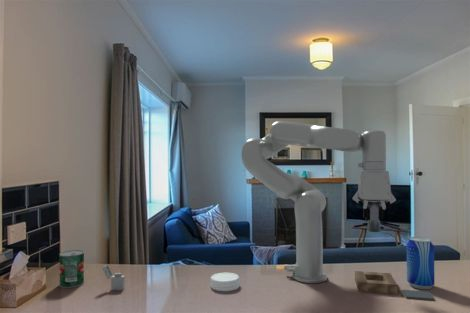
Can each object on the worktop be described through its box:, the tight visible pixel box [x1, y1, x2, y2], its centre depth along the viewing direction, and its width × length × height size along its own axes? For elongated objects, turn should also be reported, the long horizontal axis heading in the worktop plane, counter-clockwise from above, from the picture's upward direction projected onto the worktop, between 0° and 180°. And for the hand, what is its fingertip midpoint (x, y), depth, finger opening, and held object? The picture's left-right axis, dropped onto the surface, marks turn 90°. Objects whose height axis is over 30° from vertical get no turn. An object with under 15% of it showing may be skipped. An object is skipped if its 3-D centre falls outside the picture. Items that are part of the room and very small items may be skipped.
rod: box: [367, 200, 381, 233], centre depth 123 cm, size 4×4×10 cm
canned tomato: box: [58, 249, 85, 289], centre depth 126 cm, size 8×8×11 cm
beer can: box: [406, 236, 435, 290], centre depth 123 cm, size 8×8×16 cm
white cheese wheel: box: [210, 272, 241, 292], centre depth 123 cm, size 10×10×4 cm
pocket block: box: [354, 270, 398, 295], centre depth 122 cm, size 12×12×3 cm
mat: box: [401, 289, 436, 301], centre depth 114 cm, size 8×6×1 cm
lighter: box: [102, 264, 126, 291], centre depth 121 cm, size 7×2×8 cm, turn 88°
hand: (373, 219), depth 123 cm, fingers closed on rod, 4 cm apart
